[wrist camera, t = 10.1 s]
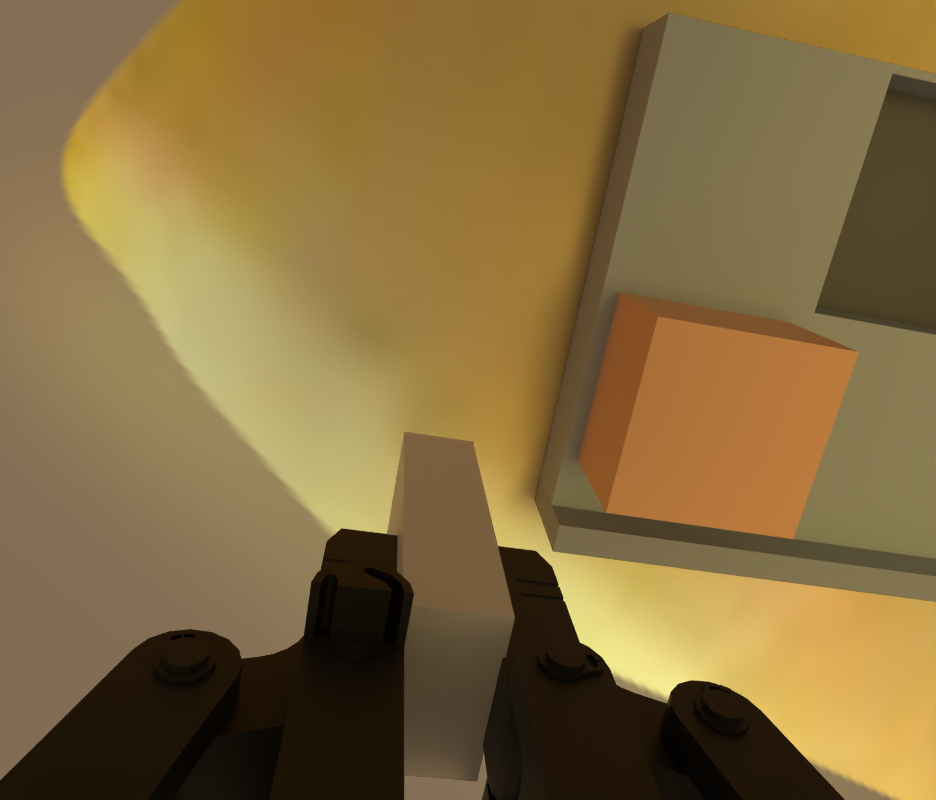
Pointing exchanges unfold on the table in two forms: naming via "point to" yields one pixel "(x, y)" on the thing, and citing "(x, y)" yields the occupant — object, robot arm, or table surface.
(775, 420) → the block
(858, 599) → the table surface
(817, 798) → the robot arm
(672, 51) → the block
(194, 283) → the table surface
